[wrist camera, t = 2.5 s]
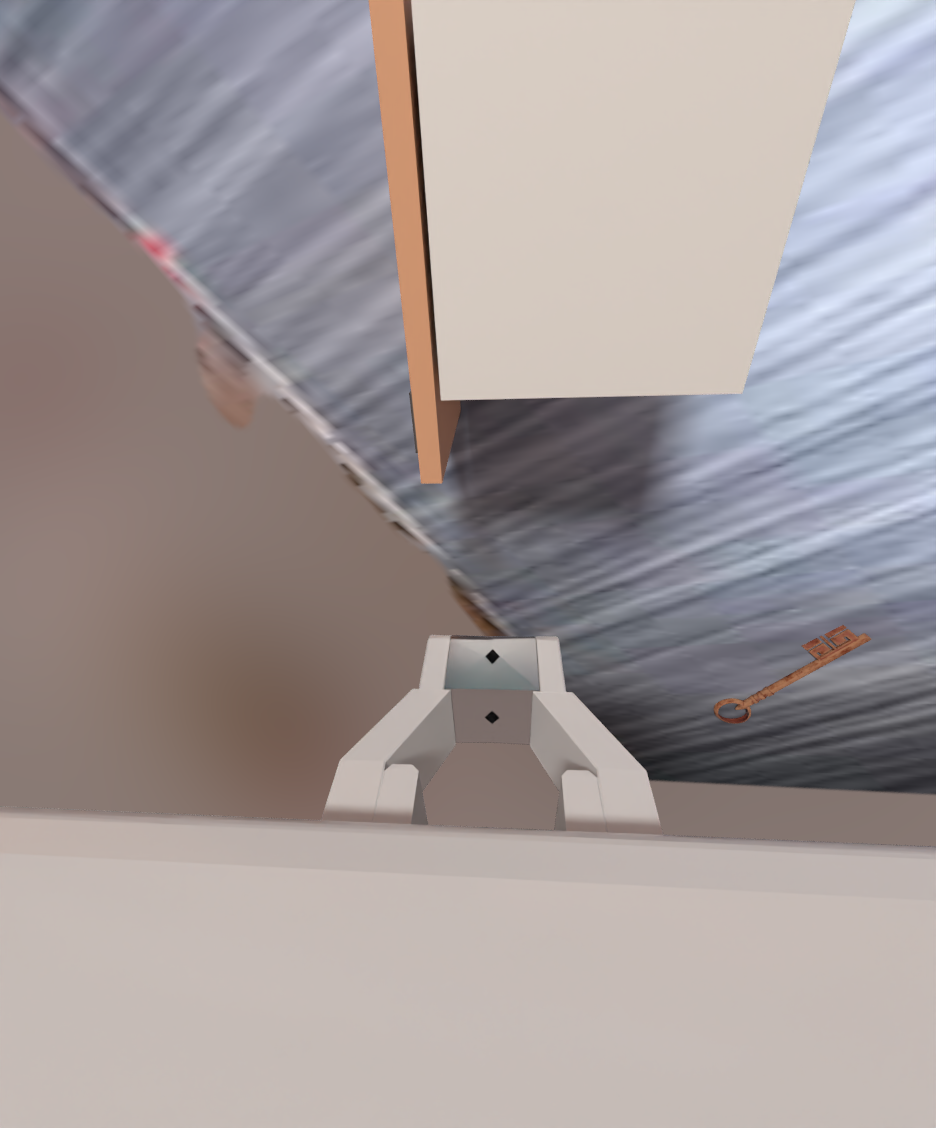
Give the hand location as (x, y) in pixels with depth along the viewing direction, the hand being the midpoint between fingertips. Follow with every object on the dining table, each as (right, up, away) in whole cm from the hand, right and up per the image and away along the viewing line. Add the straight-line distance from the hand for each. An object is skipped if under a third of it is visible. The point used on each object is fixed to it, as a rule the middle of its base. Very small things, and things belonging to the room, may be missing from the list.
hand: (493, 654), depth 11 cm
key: (+29, -8, +33) cm, 45 cm away
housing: (+5, +21, +14) cm, 26 cm away
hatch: (-2, +19, +15) cm, 24 cm away
